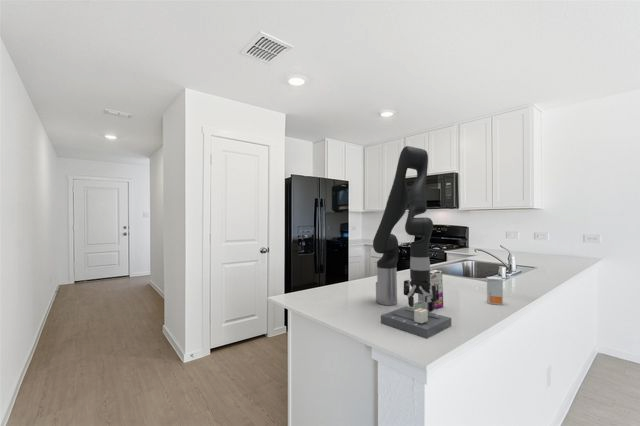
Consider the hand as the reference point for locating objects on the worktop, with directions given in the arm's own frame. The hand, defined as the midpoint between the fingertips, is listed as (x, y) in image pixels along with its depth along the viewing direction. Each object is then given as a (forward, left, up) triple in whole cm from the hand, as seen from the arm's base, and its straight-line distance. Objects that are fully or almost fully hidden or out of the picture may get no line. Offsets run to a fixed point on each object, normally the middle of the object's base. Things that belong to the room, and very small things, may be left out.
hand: (420, 308), depth 119 cm
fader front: (+5, -8, -2) cm, 10 cm away
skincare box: (+10, +46, -5) cm, 47 cm away
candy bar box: (-7, +19, -5) cm, 21 cm away
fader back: (0, 0, -2) cm, 2 cm away
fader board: (0, -4, -5) cm, 6 cm away
